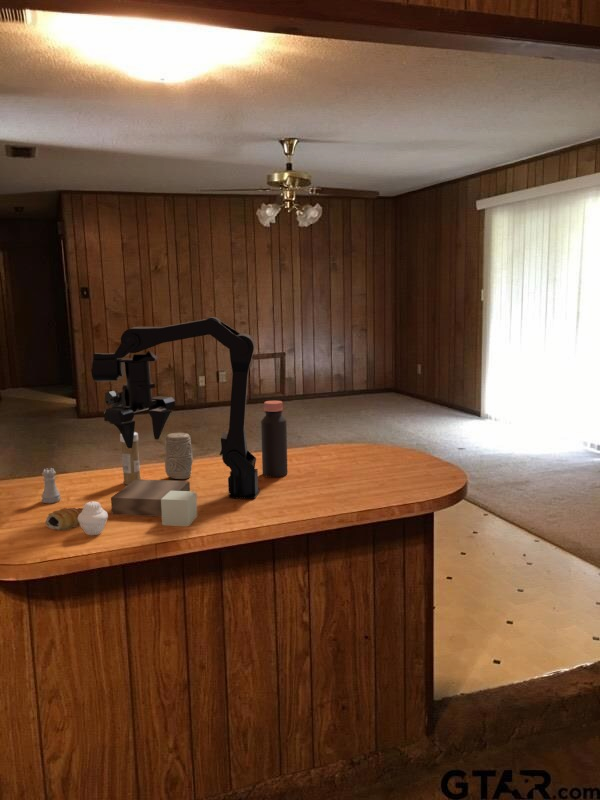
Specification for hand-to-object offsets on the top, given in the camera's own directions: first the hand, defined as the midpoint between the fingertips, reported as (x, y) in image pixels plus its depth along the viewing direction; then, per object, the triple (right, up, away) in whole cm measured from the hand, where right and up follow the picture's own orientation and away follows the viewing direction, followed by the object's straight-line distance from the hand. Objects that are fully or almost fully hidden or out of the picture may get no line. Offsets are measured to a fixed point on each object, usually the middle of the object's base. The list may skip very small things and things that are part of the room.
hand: (143, 443), depth 164 cm
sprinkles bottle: (-6, -12, +14) cm, 19 cm away
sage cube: (+11, -16, -14) cm, 24 cm away
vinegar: (+31, -10, +20) cm, 38 cm away
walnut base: (+3, -14, -3) cm, 15 cm away
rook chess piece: (-23, -14, +1) cm, 27 cm away
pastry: (-13, -17, -15) cm, 26 cm away
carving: (+6, -11, +18) cm, 22 cm away
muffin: (-6, -18, -20) cm, 27 cm away
